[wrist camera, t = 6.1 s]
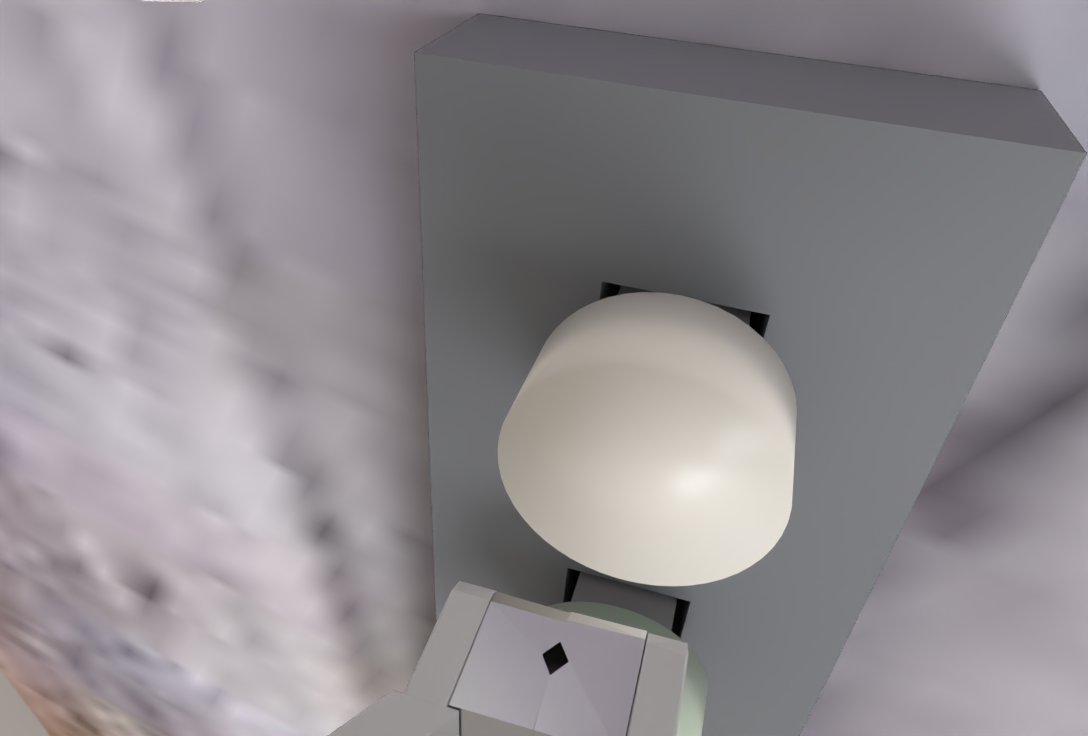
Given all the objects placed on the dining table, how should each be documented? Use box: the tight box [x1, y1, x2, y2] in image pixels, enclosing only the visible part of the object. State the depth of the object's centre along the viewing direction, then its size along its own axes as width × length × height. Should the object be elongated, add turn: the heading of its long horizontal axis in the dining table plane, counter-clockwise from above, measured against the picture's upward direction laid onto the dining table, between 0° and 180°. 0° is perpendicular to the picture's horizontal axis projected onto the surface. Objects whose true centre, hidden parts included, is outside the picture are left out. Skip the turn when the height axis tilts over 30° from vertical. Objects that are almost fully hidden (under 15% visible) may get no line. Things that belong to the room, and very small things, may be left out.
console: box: [414, 14, 1087, 736], centre depth 21 cm, size 10×26×3 cm, turn 177°
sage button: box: [549, 572, 708, 736], centre depth 19 cm, size 5×5×5 cm
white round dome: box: [497, 285, 797, 586], centre depth 14 cm, size 5×5×5 cm
